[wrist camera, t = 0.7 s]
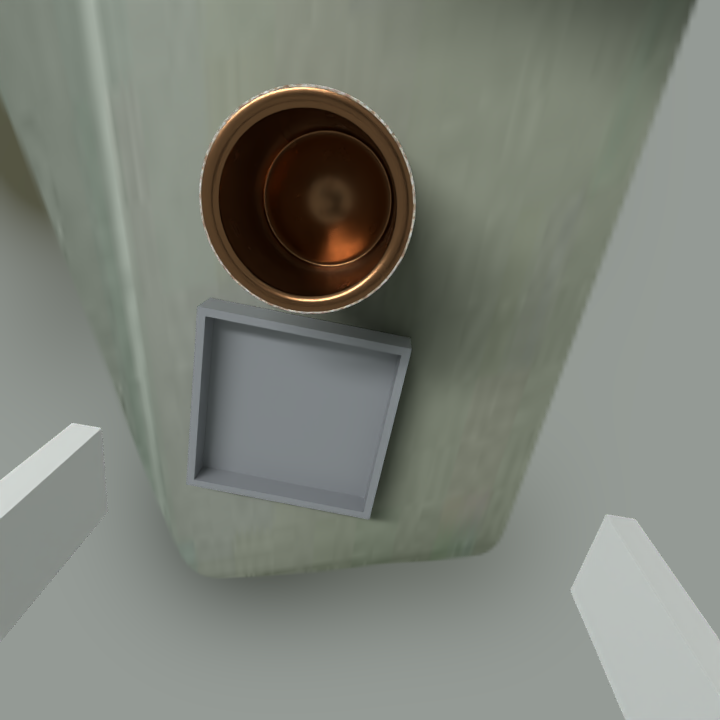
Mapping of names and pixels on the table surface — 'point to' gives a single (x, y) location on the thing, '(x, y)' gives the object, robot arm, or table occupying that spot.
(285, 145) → the planter
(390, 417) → the tray
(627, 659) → the robot arm
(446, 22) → the table surface
